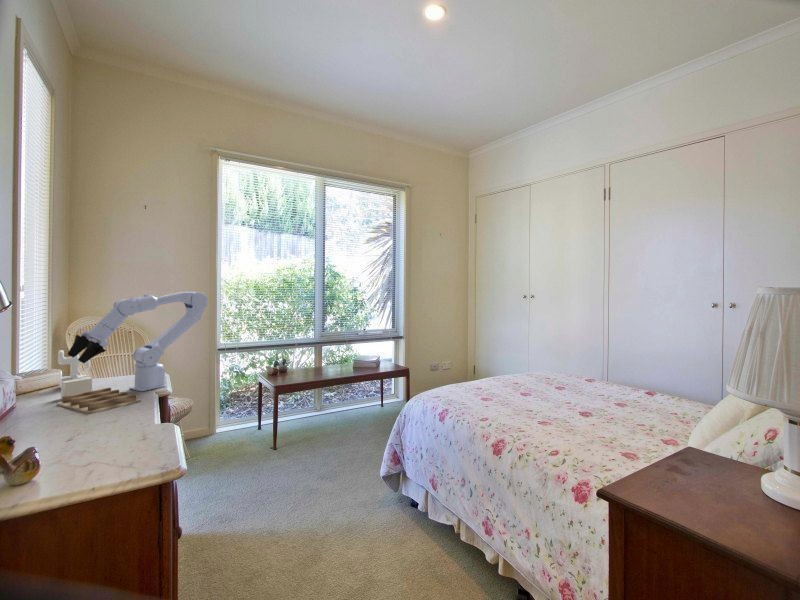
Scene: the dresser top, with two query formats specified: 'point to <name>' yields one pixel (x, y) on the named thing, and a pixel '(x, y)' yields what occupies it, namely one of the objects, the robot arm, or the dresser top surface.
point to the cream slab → (76, 386)
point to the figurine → (72, 366)
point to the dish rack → (97, 400)
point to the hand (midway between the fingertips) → (75, 358)
